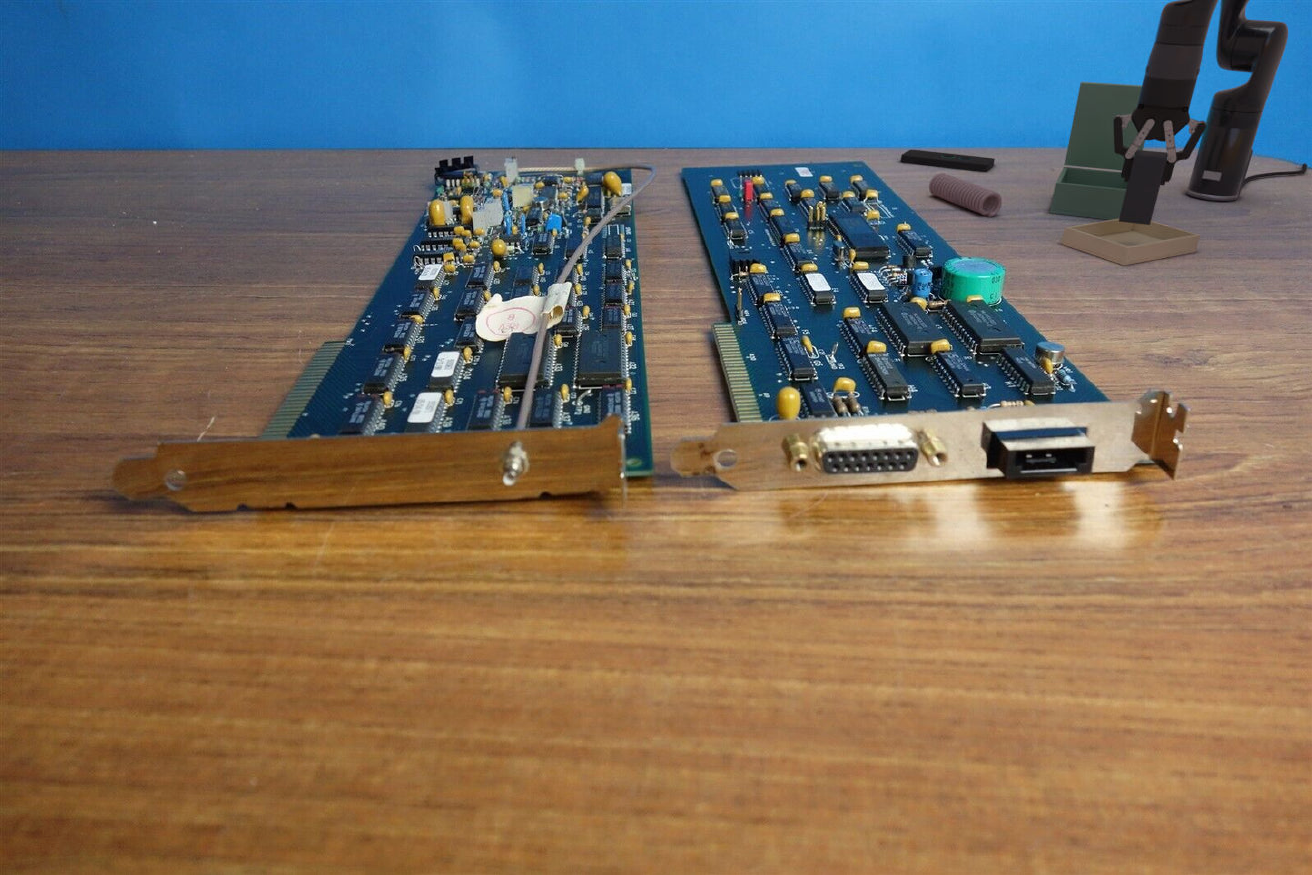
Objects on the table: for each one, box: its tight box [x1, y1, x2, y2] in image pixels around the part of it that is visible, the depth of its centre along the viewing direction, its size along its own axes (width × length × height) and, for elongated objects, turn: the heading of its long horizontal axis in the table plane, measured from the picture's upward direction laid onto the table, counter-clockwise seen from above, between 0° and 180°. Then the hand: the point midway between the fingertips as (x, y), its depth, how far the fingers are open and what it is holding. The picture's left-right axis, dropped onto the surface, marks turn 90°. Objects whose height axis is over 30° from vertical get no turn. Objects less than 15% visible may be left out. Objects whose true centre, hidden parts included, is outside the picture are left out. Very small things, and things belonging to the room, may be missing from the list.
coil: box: [928, 172, 1003, 218], centre depth 184 cm, size 5×5×18 cm
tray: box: [1061, 219, 1201, 266], centre depth 160 cm, size 17×13×3 cm
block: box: [1119, 149, 1168, 225], centre depth 156 cm, size 5×5×11 cm
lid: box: [1064, 81, 1146, 172], centre depth 184 cm, size 16×14×5 cm
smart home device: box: [900, 149, 996, 173], centre depth 218 cm, size 8×2×20 cm
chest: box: [1049, 166, 1128, 221], centre depth 183 cm, size 16×14×6 cm
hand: (1144, 182), depth 156 cm, fingers closed on block, 4 cm apart
